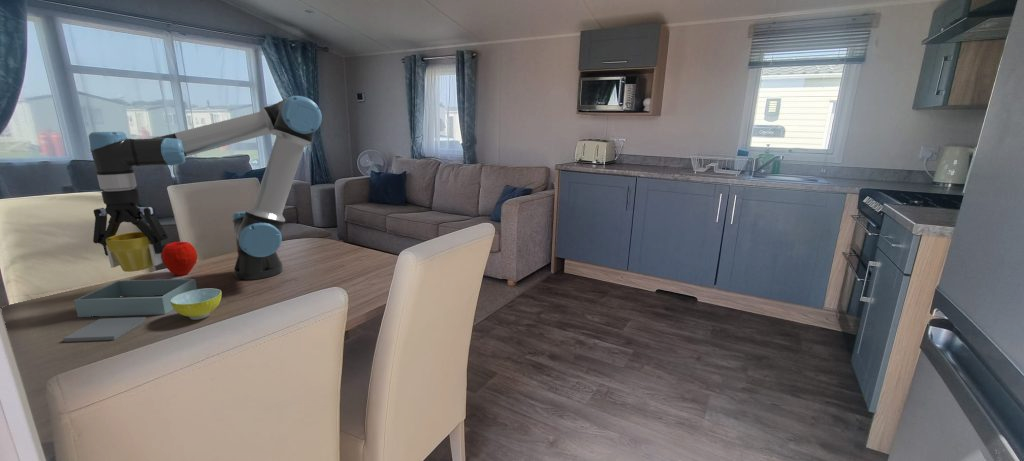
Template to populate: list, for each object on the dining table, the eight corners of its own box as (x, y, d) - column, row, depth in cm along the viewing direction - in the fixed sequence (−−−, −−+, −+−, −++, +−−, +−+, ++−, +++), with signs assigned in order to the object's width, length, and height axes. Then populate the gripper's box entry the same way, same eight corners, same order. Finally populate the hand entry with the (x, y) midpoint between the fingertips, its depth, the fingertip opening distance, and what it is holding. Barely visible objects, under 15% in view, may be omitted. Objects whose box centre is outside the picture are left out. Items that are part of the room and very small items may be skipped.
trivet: (146, 320, 113) (145, 317, 113) (114, 339, 103) (113, 336, 103) (100, 322, 112) (100, 318, 112) (63, 342, 101) (63, 338, 101)
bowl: (167, 328, 109) (163, 306, 108) (181, 311, 119) (177, 291, 118) (219, 321, 114) (216, 300, 112) (228, 305, 124) (225, 286, 122)
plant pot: (133, 275, 115) (125, 241, 113) (103, 272, 117) (95, 239, 115) (170, 263, 125) (163, 231, 123) (142, 261, 127) (135, 230, 125)
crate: (197, 293, 132) (195, 278, 131) (165, 314, 117) (162, 297, 116) (121, 295, 129) (117, 280, 128) (77, 317, 114) (73, 300, 113)
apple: (206, 270, 154) (202, 238, 151) (181, 279, 144) (176, 245, 141) (183, 268, 155) (178, 236, 152) (157, 277, 146) (151, 243, 143)
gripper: (173, 186, 121) (188, 259, 126) (84, 187, 118) (103, 262, 123) (155, 190, 113) (171, 267, 119) (60, 191, 110) (82, 271, 116)
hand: (137, 265), depth 121 cm, fingers closed on plant pot, 10 cm apart
